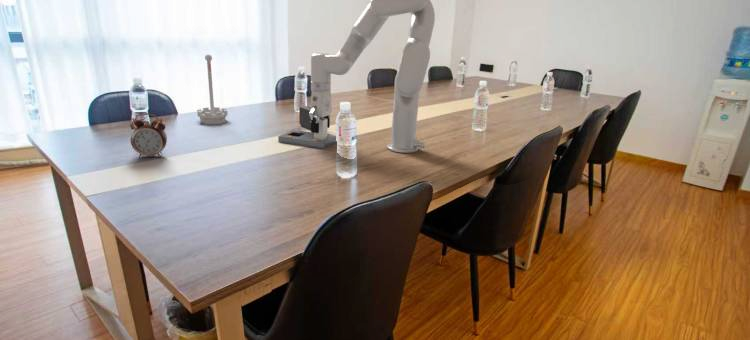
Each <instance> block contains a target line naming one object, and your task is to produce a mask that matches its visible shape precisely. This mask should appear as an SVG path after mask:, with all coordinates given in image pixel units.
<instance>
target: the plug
mask: <svg viewBox="0 0 750 340" xmlns="http://www.w3.org/2000/svg"><path fill="white" fill-rule="evenodd" d="M327 121H328V119H326V118H321V117H320V118H319V121H318V123H319V133H314V139H317V140H323V141H324V140H326V139H327V135H328V128H327Z"/></svg>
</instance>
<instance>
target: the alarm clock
mask: <svg viewBox="0 0 750 340" xmlns="http://www.w3.org/2000/svg"><path fill="white" fill-rule="evenodd" d="M140 116H152V117H155V119H154V120H152V122H151V123H150V121H148V120H147V121H144V120H142V119H140V118H138V117H140ZM131 120H132V121H130V124H129V125H130V126H129V127H130V129H131V130H132V133H131V136H130V145H131V147H132V148H133V150H134V151H135V152H137V154H138V155H139V156H138V158H139V159H140V158H141V156H145V157H152V156H153V157H154V156H156V155H157V156H159V158H162V156H161V155H163V151H164V149H165V148H166V147H167V146H166V145H167V141H168V137H167V133H166V131H165V130H166V123H165V122H164V121H163V118H160V119H159V117H157V115H156V114H153V113H140V114H137V115H136V116H135V118H134V117H133V118H132V119H131Z"/></svg>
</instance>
